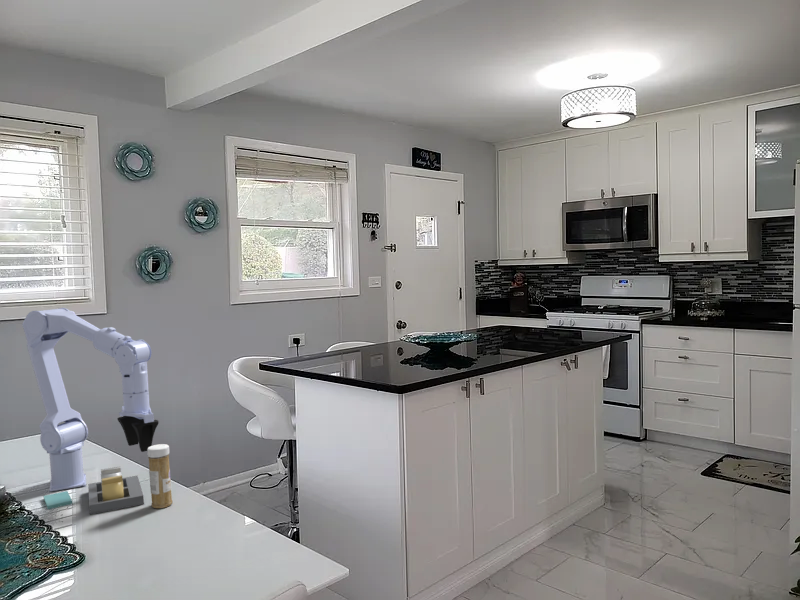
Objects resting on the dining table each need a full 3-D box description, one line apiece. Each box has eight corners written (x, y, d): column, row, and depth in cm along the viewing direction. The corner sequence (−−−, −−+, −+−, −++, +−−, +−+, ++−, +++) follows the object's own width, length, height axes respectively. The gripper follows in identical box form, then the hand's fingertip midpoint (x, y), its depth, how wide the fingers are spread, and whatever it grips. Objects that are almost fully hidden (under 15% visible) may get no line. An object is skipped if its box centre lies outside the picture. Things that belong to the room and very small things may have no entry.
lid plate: (43, 499, 150) (43, 496, 150) (67, 494, 153) (67, 490, 153) (47, 509, 143) (47, 506, 143) (72, 503, 146) (72, 500, 146)
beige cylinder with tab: (102, 502, 146) (100, 477, 146) (123, 498, 148) (121, 473, 148) (103, 509, 142) (101, 482, 142) (124, 504, 144) (123, 478, 144)
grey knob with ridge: (101, 492, 153) (100, 467, 153) (121, 488, 155) (120, 464, 155) (102, 498, 149) (100, 473, 149) (123, 494, 151) (121, 469, 151)
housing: (88, 492, 154) (88, 484, 153) (137, 483, 158) (137, 475, 158) (89, 514, 139) (89, 505, 139) (143, 504, 144) (143, 495, 144)
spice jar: (174, 505, 142) (171, 446, 142) (153, 510, 140) (149, 450, 139) (169, 499, 146) (166, 442, 145) (148, 504, 144) (145, 446, 143)
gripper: (107, 390, 154) (111, 445, 155) (130, 398, 144) (134, 457, 145) (136, 385, 159) (140, 439, 160) (161, 393, 149) (164, 450, 150)
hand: (139, 447), depth 153 cm, fingers open, 7 cm apart
